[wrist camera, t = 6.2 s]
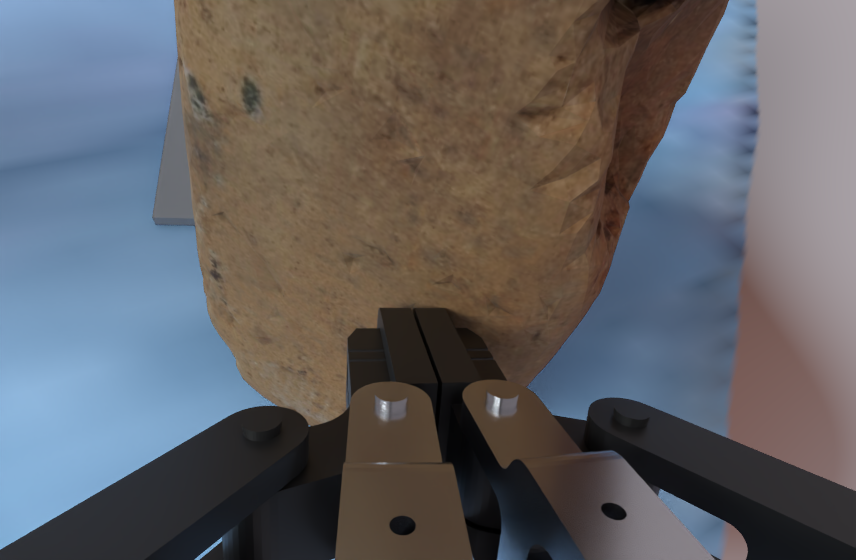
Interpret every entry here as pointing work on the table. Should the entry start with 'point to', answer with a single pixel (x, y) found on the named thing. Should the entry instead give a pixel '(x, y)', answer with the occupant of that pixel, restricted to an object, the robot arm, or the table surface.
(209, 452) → the robot arm
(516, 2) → the rough sandstone rock
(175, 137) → the mat
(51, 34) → the table surface
